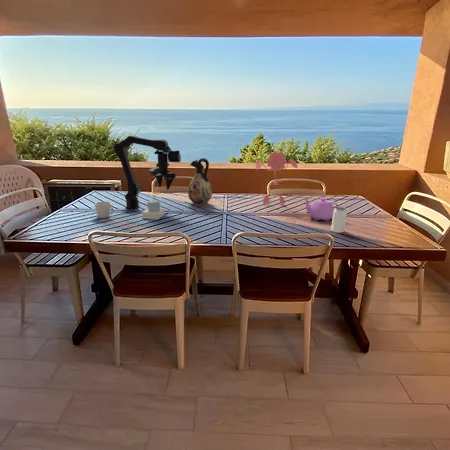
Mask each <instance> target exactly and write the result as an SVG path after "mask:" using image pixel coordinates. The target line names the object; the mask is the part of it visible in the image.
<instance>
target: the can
mask: <svg viewBox="0 0 450 450" xmlns="http://www.w3.org/2000/svg"><path fill="white" fill-rule="evenodd" d="M347 213H348V212H347V208H344V207H341V206H340V207H339V206H338V207H336V206H335V207H334V211H333V217H332V218H331V219H332V221H331V228H330V229H331V232H333V233H336V234H343V233H344V232H345V229H346V222H347ZM342 232H343V233H342Z"/></svg>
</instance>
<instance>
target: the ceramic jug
mask: <svg viewBox="0 0 450 450" xmlns="http://www.w3.org/2000/svg"><path fill="white" fill-rule="evenodd" d="M203 162H204V163H205V167H204V165H203ZM189 165H190V166H191V167H192V168H193V167H194V168H195V170H196V171H195V172H196V173H195V175H194V176H192V179H191V181H190V183H189V186H188V189H187V194H188V199H189V200H190V201H191V202H192V206H196V207H201V206H203V207H204V206H208V203H209V201H211V199H212V196H213V189H212V186H211V183H210V182H209V179H208V175H207V174H208V170H209V166H210V162H209V161H208V159H207V158H204V157H203V158H200V159H195V160H193V161H191V163H190V164H189ZM204 168H205V169H204ZM203 170H204V172H203Z"/></svg>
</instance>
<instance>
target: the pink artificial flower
mask: <svg viewBox="0 0 450 450" xmlns="http://www.w3.org/2000/svg"><path fill="white" fill-rule="evenodd" d="M286 159H287V155H284V152H283V150H282V151H280V152H278V151H274V153H273V152H271V153H269V158H267V160H266V161H267V165H265V164H264V162H263V160H262V159H261V160H259V161H258V162H256V164H255V171H258V170H259V169H260V168H261V167H262V165H263V167H264V169H266V170H267V172H269V171H271V172H273V171H274V173H273V175H274V181H273V183H272V184H268V186H266V188H265V189H266V190H268V187H270V186H272V185H274V186H277V185H278V186H280V187H282V189H281V192H284V190H283V189H284V185H281V184H279V182H278V181H277V179H276V172H280V171H281V170H282V171H285V170H287V167H288V166H289V164H290V165H291V166H292V167H293V168H294V169H298V164H297V162H296V160H294V159H292V158H290V159H289V160H286ZM285 165H286V166H285ZM266 166H267V167H270V169H268V168H267V167H266ZM278 199H279V200H278V201H279V204H280V205H282V206H285V201H286V200H285V199H284V197H283V194H280V195H279V198H278ZM269 202H270V196H269V195H265V196H264V197H263V199H262V203H263V206H266V205H267V204H268V203H269ZM280 209H281V208H279V209H275V208H274V210H278V211H279V210H280ZM288 209H289V207H287V208H286V210H288ZM280 211H281V210H280Z"/></svg>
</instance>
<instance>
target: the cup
mask: <svg viewBox="0 0 450 450" xmlns="http://www.w3.org/2000/svg"><path fill="white" fill-rule="evenodd" d="M94 207H95V213H96V216H97V218H99V219H106V218H109V217H110V216H111V215H113V214H114V212H115V211H114V210H115V209H114V207H113V206H112V205H111V203H110V201H97V202H95V203H94Z"/></svg>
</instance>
